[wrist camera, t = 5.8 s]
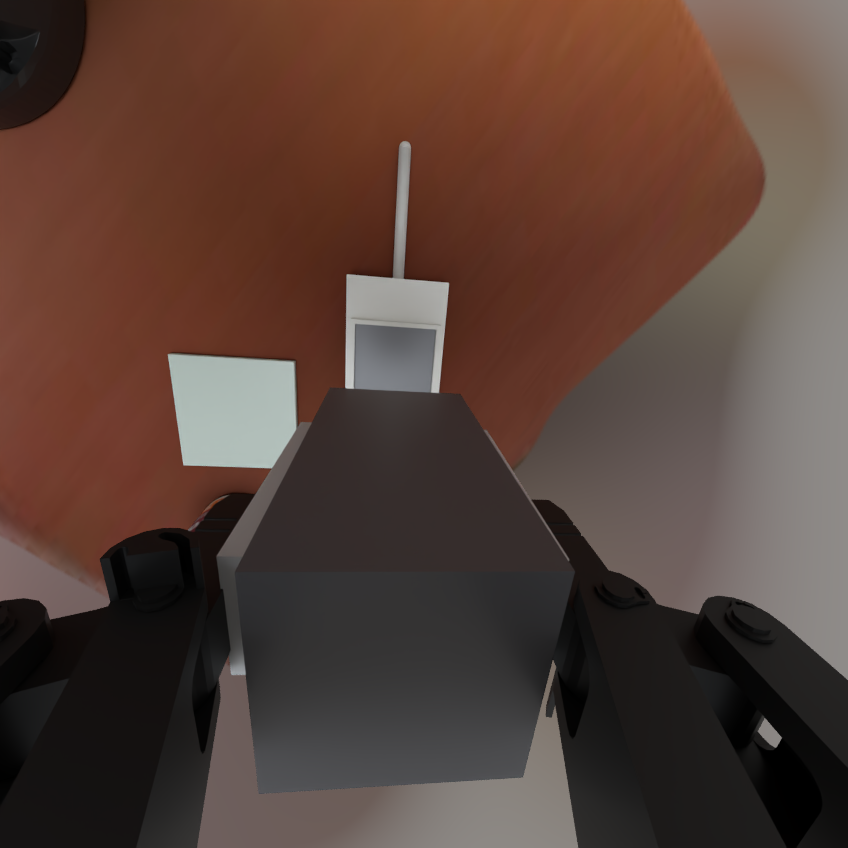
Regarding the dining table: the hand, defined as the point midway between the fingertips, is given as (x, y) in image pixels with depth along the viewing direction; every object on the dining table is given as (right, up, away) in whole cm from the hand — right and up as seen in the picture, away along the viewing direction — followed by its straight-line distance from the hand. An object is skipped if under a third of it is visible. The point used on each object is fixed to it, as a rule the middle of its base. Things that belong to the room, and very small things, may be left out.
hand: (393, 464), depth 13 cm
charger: (0, 0, +1) cm, 1 cm away
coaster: (-14, +2, +18) cm, 23 cm away
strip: (-1, +7, +17) cm, 19 cm away
